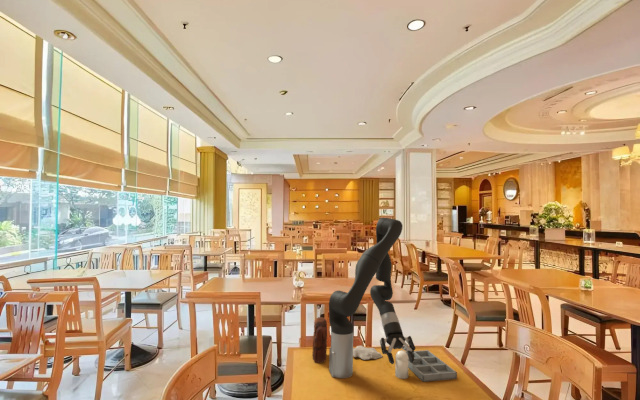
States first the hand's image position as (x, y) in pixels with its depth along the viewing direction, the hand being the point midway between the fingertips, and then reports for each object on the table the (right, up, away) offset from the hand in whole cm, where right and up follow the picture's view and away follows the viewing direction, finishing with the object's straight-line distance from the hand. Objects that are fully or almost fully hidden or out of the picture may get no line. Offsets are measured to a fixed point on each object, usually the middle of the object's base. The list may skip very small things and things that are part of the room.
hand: (402, 362), depth 137 cm
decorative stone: (-12, -7, +19) cm, 24 cm away
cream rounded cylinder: (0, -5, 0) cm, 5 cm away
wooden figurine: (-34, -6, +16) cm, 38 cm away
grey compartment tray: (+12, -6, +8) cm, 15 cm away
